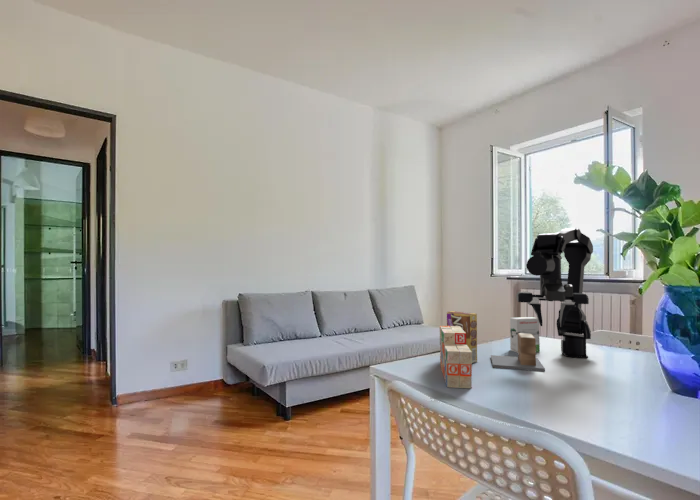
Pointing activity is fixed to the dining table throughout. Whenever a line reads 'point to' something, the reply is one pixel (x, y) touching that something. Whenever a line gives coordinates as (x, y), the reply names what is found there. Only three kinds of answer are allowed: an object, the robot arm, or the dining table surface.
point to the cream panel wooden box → (526, 349)
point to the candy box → (466, 328)
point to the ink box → (523, 330)
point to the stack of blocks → (455, 357)
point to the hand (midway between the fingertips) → (551, 326)
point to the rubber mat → (514, 363)
